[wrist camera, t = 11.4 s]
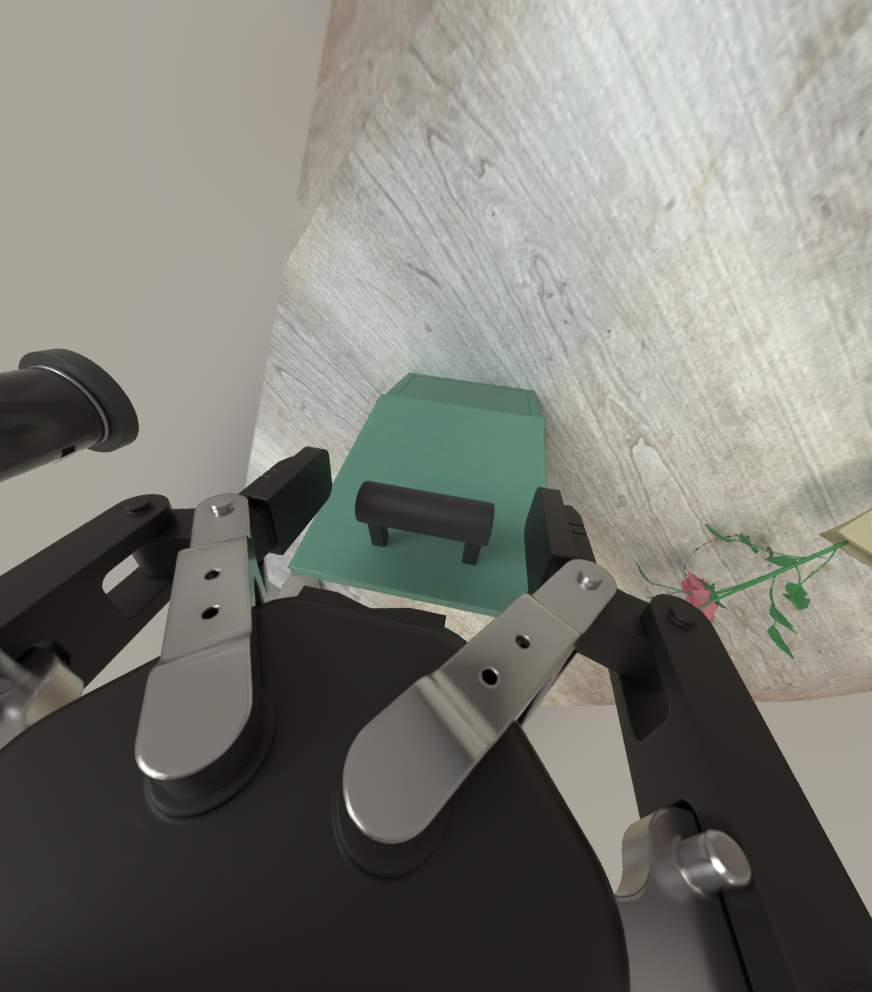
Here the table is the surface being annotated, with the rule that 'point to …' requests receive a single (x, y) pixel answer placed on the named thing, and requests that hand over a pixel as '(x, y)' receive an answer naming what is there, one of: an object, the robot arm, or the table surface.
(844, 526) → the flower vase
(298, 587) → the salt shaker
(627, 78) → the table surface
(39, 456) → the robot arm
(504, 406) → the storage chest
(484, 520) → the chest lid
